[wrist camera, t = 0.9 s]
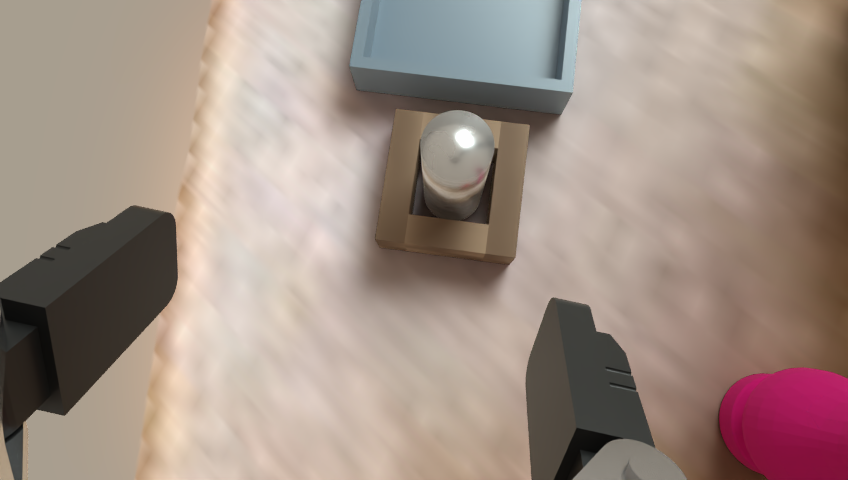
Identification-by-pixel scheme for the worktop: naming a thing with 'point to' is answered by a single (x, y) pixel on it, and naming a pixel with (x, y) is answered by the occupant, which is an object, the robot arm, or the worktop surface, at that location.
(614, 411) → the robot arm
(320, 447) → the worktop surface
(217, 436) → the worktop surface
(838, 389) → the pepper mill
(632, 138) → the worktop surface
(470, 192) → the pin
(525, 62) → the parts tray
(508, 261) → the socket block
